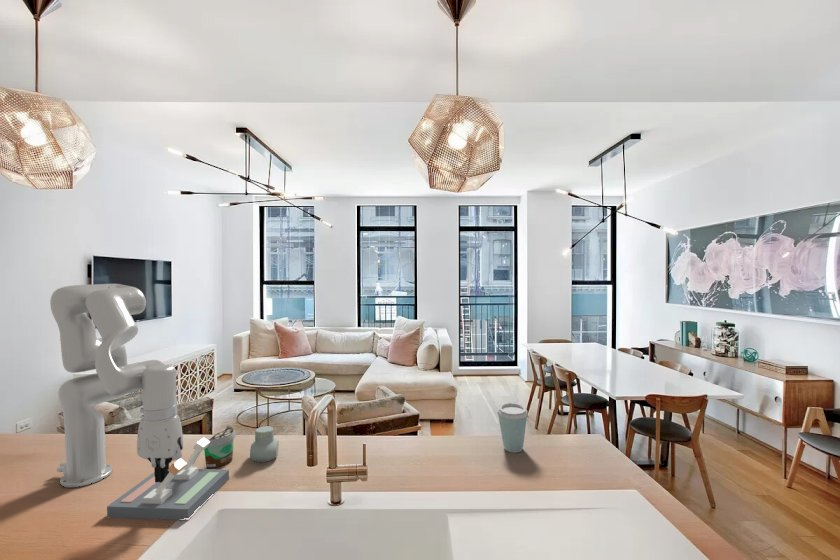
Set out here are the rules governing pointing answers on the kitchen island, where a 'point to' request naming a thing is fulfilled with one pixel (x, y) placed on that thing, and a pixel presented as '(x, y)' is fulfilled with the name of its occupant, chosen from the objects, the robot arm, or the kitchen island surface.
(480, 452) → the kitchen island surface
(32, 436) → the kitchen island surface
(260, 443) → the air freshener
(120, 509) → the switch panel
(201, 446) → the lever
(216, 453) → the food container
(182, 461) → the lever
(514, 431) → the disposable coffee cup
